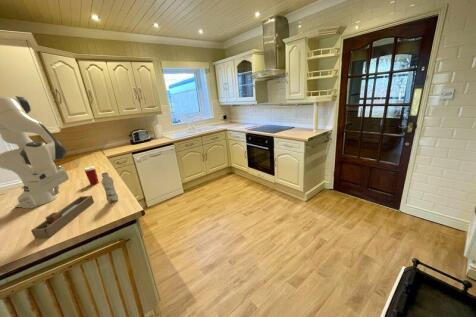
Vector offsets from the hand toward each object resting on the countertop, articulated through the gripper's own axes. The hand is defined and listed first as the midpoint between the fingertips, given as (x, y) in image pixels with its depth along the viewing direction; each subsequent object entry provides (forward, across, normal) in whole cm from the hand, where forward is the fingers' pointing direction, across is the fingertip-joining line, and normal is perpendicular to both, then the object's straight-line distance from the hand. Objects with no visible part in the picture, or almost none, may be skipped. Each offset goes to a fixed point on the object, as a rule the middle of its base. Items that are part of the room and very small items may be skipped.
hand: (55, 194), depth 112 cm
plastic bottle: (+17, -18, +18) cm, 30 cm away
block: (+14, +6, +1) cm, 15 cm away
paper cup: (+18, -51, -18) cm, 57 cm away
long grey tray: (+17, 0, +1) cm, 17 cm away
